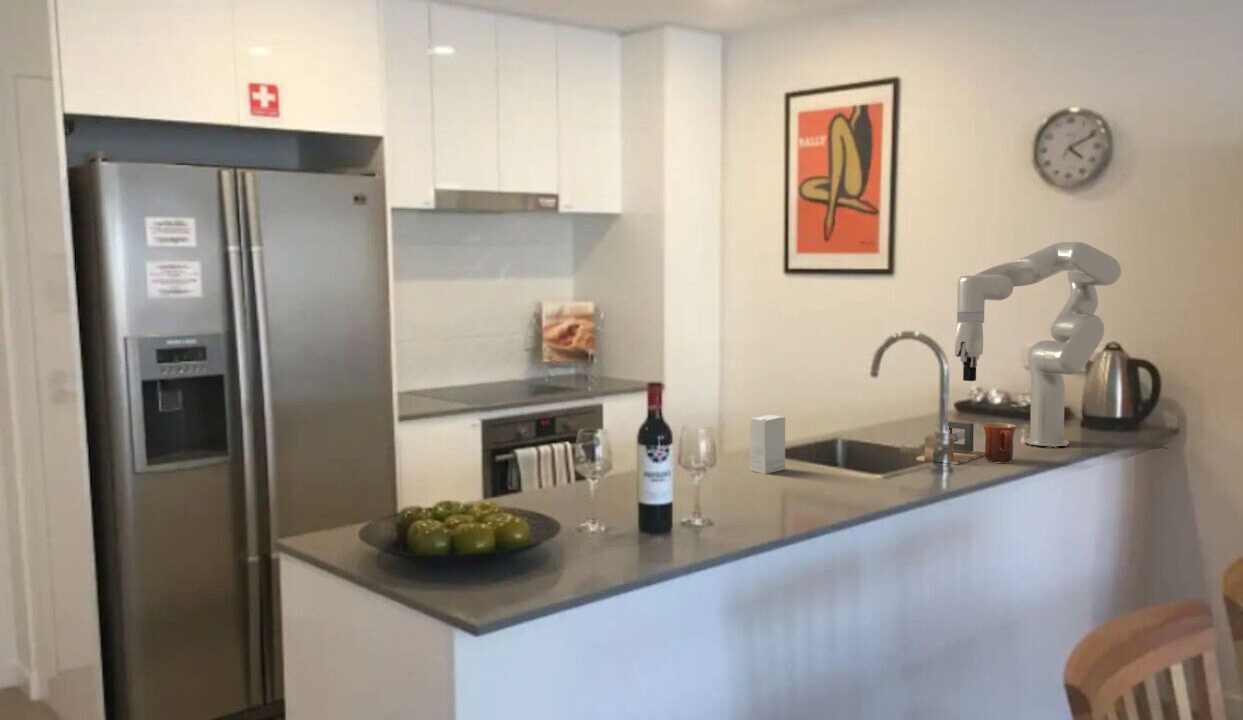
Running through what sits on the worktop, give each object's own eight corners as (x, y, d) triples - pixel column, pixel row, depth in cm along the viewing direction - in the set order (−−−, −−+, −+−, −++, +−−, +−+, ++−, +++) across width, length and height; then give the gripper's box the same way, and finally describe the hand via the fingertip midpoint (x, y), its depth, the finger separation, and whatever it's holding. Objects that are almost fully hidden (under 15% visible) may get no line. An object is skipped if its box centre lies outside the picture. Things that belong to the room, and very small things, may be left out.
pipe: (961, 437, 310) (961, 429, 310) (970, 438, 308) (970, 429, 308) (935, 446, 296) (935, 437, 296) (944, 447, 295) (944, 438, 294)
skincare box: (770, 467, 291) (770, 413, 290) (786, 470, 286) (786, 416, 285) (748, 471, 286) (748, 417, 284) (765, 474, 281) (765, 419, 280)
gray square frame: (946, 448, 309) (947, 420, 308) (973, 450, 304) (973, 423, 303) (943, 449, 307) (943, 421, 306) (969, 452, 302) (970, 424, 301)
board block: (946, 450, 313) (946, 427, 313) (985, 454, 306) (986, 430, 305) (916, 460, 298) (916, 435, 298) (957, 465, 291) (957, 439, 290)
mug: (978, 458, 299) (978, 422, 299) (1009, 458, 299) (1010, 422, 298) (992, 466, 287) (992, 429, 287) (1024, 466, 287) (1025, 429, 286)
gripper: (968, 316, 316) (967, 377, 317) (947, 319, 304) (946, 382, 306) (993, 317, 311) (992, 379, 312) (972, 319, 299) (971, 383, 301)
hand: (969, 380), depth 309 cm, fingers closed
